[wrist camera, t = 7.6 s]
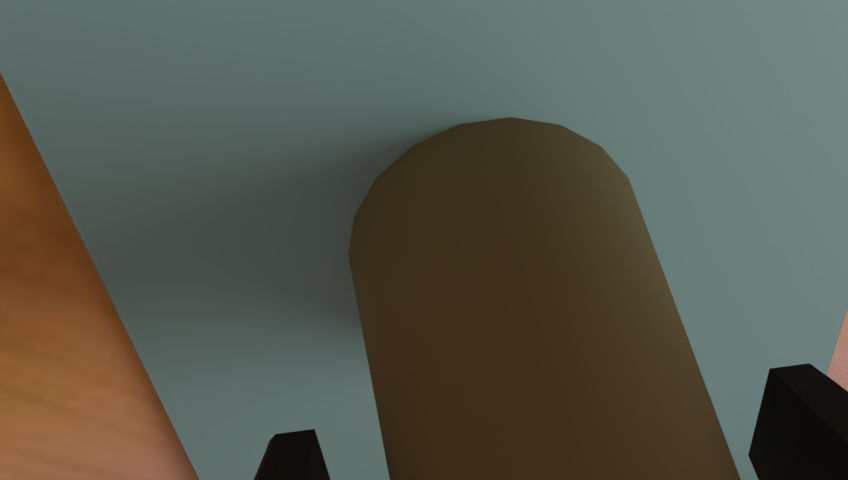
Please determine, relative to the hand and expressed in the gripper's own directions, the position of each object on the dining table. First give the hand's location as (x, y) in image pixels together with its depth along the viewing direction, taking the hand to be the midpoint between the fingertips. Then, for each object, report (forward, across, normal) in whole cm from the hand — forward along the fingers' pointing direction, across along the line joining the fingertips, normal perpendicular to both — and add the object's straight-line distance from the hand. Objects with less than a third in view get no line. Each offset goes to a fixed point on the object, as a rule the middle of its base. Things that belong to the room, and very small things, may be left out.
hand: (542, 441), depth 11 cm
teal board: (+5, 0, 0) cm, 5 cm away
